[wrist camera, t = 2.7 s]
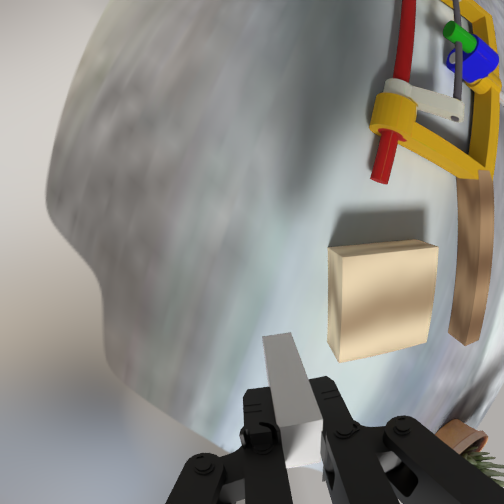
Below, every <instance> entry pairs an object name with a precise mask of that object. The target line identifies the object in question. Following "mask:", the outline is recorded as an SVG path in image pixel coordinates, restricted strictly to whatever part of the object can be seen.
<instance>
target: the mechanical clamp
mask: <svg viewBox="0 0 504 504" xmlns="http://www.w3.org/2000/svg"><path fill="white" fill-rule="evenodd" d="M441 1H443V2H444V3H445V4H447V5H448V6H450V7H451V8H453V11H454V21H449V22H448V23H447V24H446V25H445V27H444V30H443V36H444V37H445V38H447V39H448V40H449V41H451V42H452V43H454V44H455V48H454V49H453V50H452V51H451V52H450V53H449V55H448V57H447V62H446V64H447V67H448V69H450V70H451V71H453V72H454V73H455V78H454V93H453V98H452V97H449V96H446V95H443V94H440V93H437V92H433V91H430V90H426V89H423V88H419V87H415V86H412V85H410V84H409V79H410V71H411V63H412V54H413V44H414V32H415V16H416V0H402V9H401V20H400V30H399V39H398V46H397V54H396V61H395V67H394V73H393V78H390V79H387V80H386V81H385V85H384V90H383V93H379V94H377V96H376V99H375V104H374V108H373V113H372V117H371V122H370V126H369V129H370V130H371V131H372V132H373V133H374V134H376V135H379V136H381V138H380V142H379V146H378V151H377V155H376V158H375V162H374V166H373V170H372V174H371V177H370V179H372V180H374V181H376V182H379V183H382V184H388V181H389V177H390V173H391V169H392V165H393V161H394V157H395V153H396V148H397V144H399V145H401V146H403V147H405V148H407V149H409V150H411V151H413V152H415V153H417V154H418V155H420V156H422V157H424V158H426V159H428V160H429V161H431V162H433V163H435V164H436V165H438V166H440V167H441V168H443V169H445V170H446V171H448V172H450V173H451V174H453V175H455V176H456V177H458V178H463V179H477V180H479V177H478V170H486V171H490V174H491V178H492V181H493V175H494V169H495V161H496V153H497V144H498V132H499V113H500V104H501V105H502V106H503V107H504V93H503V92H502V91H501V88H502V84H501V80H500V79H499V65H498V63H499V56H498V54H497V45H496V38H495V31H494V25H493V19H492V16H491V15H490V14H489V13H488V12H487V11H485V10H484V9H483V8H482V7H481V6H479V5H478V4H477V3H476V2H475V1H473V0H441ZM460 14H461V15H462V16H463V17H465V18H466V19H467V20H469V21H470V22H471V23H472V27H473V34H470V33H469V32H467V31H466V30H465V29H463V28H462V27H461V15H460ZM462 79H463V80H464V81H465V84H466V85H467V86H468V87H469V88H471V89H472V90H473V91H474V92H475V95H474V112H473V123H472V133H471V141H470V148H469V155H467V154H466V153H464V152H463V151H461V150H460V149H458V148H457V147H455V146H454V145H452V144H451V143H449V142H448V141H446V140H445V139H443V138H442V137H440V136H438V135H437V134H435V133H433V132H432V131H430V130H428V129H427V128H425V127H423V126H422V125H420V124H418V123H416V117H417V111H418V110H421V111H424V112H427V113H431V114H434V115H437V116H440V117H443V118H446V119H449V120H452V121H454V122H463V118H464V108H465V105H464V103H463V102H462V101H461V94H462Z"/></svg>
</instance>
